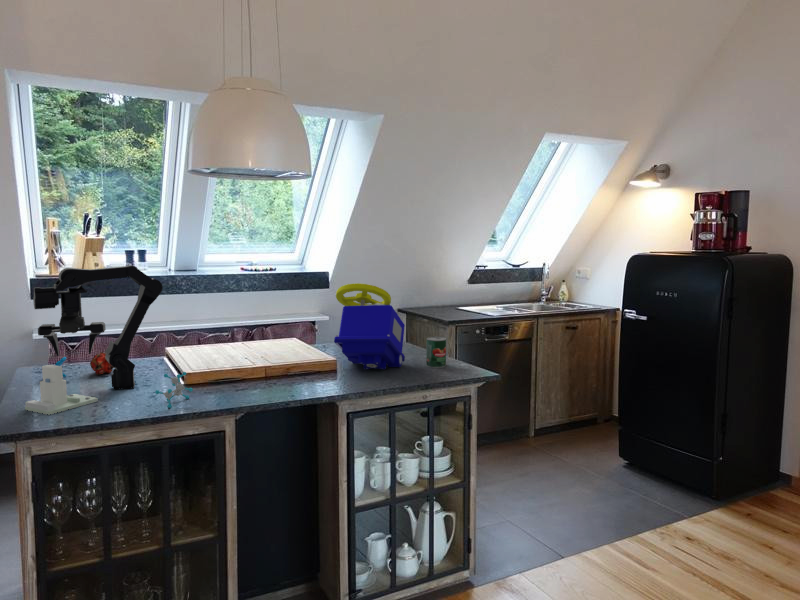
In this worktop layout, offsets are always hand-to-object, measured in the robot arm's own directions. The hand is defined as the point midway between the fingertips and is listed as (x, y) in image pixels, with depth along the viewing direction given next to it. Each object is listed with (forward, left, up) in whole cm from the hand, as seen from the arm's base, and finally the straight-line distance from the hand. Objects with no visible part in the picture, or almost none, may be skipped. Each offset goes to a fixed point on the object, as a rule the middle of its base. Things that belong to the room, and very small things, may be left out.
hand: (74, 354), depth 197 cm
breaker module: (+4, +14, -12) cm, 19 cm away
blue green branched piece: (+11, -26, -13) cm, 31 cm away
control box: (-102, -10, -13) cm, 103 cm away
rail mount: (+2, +13, -13) cm, 19 cm away
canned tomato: (-128, -1, -13) cm, 129 cm away
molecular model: (-30, +20, -13) cm, 38 cm away
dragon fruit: (-5, -28, -13) cm, 31 cm away
